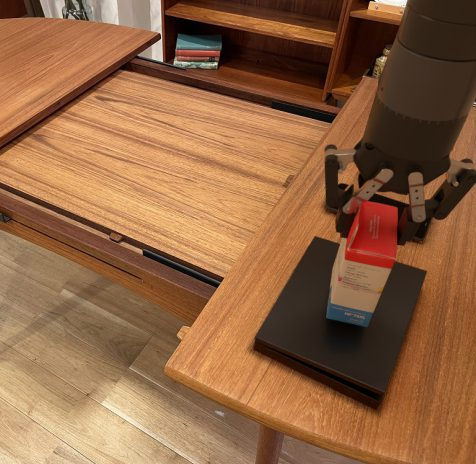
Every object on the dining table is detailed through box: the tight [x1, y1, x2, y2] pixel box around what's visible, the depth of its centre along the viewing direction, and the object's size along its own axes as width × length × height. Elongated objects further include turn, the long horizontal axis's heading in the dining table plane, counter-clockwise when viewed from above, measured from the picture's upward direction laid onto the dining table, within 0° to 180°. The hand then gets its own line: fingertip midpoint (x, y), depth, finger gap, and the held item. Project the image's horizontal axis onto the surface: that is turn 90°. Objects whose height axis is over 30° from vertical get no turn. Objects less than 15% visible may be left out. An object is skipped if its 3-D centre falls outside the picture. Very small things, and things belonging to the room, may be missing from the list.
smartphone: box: [325, 182, 434, 242], centre depth 79 cm, size 7×1×15 cm
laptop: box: [252, 340, 384, 411], centre depth 65 cm, size 15×20×2 cm
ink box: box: [326, 201, 398, 327], centre depth 57 cm, size 8×5×15 cm, turn 161°
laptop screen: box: [254, 235, 428, 397], centre depth 63 cm, size 15×20×1 cm
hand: (371, 236), depth 55 cm, fingers closed on ink box, 5 cm apart
